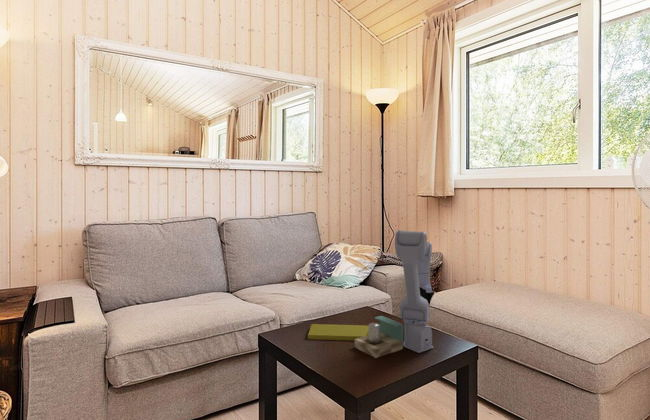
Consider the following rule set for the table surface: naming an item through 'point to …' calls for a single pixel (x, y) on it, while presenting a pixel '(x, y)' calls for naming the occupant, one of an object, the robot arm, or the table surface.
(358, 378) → the table surface
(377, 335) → the peg
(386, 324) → the teal block
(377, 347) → the socket block
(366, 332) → the flat olive board
